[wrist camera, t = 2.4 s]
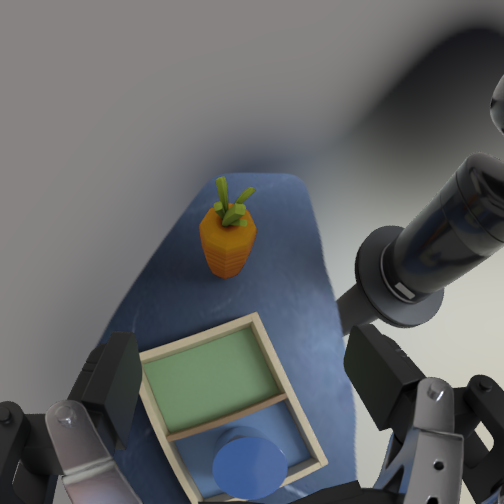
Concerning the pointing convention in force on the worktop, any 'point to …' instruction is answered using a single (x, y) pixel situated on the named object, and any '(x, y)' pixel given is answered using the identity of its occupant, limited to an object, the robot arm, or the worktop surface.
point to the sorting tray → (223, 402)
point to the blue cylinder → (248, 463)
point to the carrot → (227, 233)
